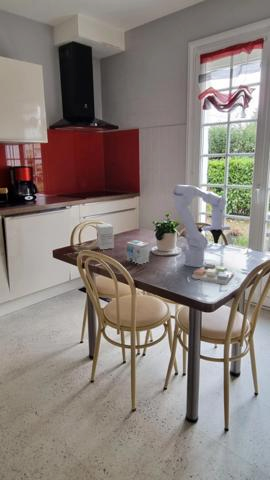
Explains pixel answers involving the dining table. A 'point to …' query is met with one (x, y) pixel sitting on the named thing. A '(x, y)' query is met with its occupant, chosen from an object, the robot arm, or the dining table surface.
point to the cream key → (211, 271)
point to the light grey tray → (213, 277)
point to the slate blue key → (222, 276)
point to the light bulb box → (138, 252)
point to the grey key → (209, 266)
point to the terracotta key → (199, 272)
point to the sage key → (221, 268)
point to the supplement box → (105, 236)
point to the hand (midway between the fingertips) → (215, 243)
